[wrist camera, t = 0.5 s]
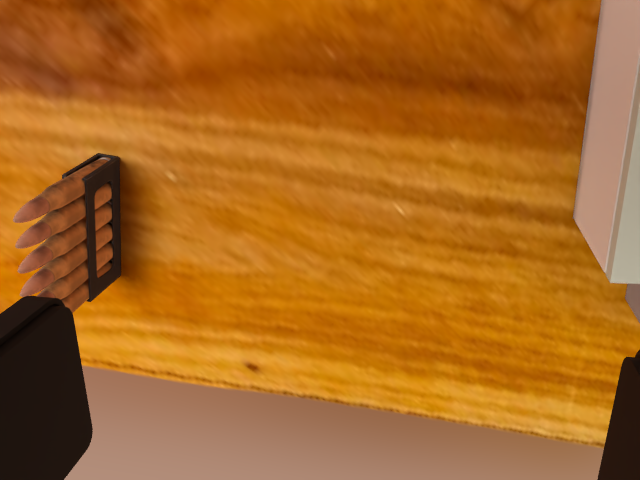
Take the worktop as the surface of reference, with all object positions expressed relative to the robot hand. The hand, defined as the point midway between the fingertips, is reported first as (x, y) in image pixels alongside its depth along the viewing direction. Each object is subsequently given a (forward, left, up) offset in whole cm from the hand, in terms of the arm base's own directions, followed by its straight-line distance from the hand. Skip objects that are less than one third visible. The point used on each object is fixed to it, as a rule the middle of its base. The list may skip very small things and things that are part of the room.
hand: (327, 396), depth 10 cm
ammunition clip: (+11, -24, -35) cm, 44 cm away
